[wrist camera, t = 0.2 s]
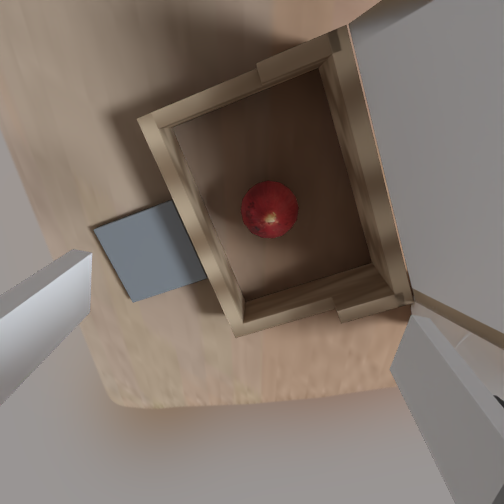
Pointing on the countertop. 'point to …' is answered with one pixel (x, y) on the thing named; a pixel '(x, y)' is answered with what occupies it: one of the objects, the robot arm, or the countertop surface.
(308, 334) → the countertop surface
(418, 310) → the water bottle
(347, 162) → the box
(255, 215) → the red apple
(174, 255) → the slate mat
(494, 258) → the lid
